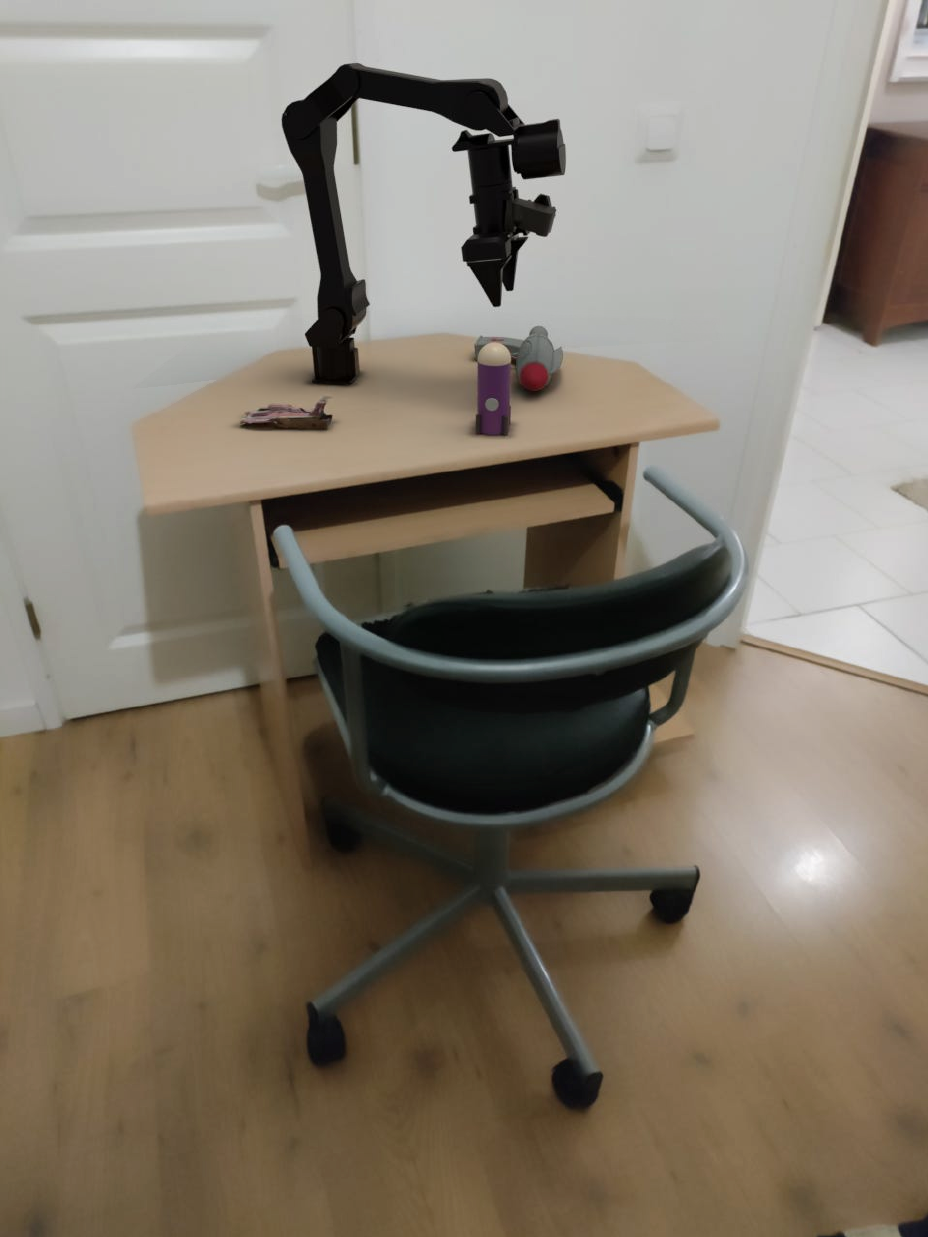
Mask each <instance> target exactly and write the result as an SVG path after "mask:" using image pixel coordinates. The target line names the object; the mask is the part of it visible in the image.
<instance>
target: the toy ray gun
mask: <svg viewBox="0 0 928 1237" xmlns="http://www.w3.org/2000/svg"><path fill="white" fill-rule="evenodd" d="M494 342H495V343H500V344H502V345H504V346H505V347H506V348H507V349H508V350H509V352H510V355H511V357H513V358H516V363H515V372H516V377H517V380H518V381H519V383H520V384H521V385H522V387H524V388H525V389H526V390H528V391H531V392H537V391H541V390H542V389H543V388H545V387H546V386H547V385H548V384H549V382H550V380H551V379H552V376H553V374H555V373H557V372H558V371H559V370H560V368H561V366H562V364H563V359H564V353H563V352H564V351H563V347H562V346H560V347H557V348H556V349H554V346H553V343H552V341H551V339H550V338H549V333H548V329H547V328H546V327H544V326H542V325H536V326H533V327H532V328H531V329H530V330H529V333H528V336H527V337H526V338H525V339H519V338H513V337H505V336H483V335H479V337H478V338H477V339H476V341H475V343H474V344H473V347H474V354H475V361H476V362H478V355H479V352H480V350H481V349H482V348H483V347H484V346H485V345H487V344H489V343H494Z"/></svg>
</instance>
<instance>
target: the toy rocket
mask: <svg viewBox="0 0 928 1237" xmlns="http://www.w3.org/2000/svg"><path fill="white" fill-rule="evenodd" d="M511 375H512V356H511V355H510V352H509V350H508V349H507V348H506V347H505V346H504V345H502V344H500V343H495V342H494V343H489V344H487V345H485V346H484V347H483V348H482V349H481V350H480V352H479V355H478V361H477V376H476V377H477V380H476V381H477V384H476V386H477V387H476V389H477V390H476V392H477V393H476V394H477V395H476V396H477V397H476V400H477V401H476V406H477V407H476V409H477V410H476V414H475V434H476V435H480V434H484V435H488V436H498V435H503V436H508V432H509V431H510V425H511V419H512V418H511V417H512V416H511V415H512V412H511V411H512V406H511V383H512V382H511V380H512V377H511Z"/></svg>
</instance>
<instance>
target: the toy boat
mask: <svg viewBox="0 0 928 1237" xmlns="http://www.w3.org/2000/svg"><path fill="white" fill-rule="evenodd" d="M332 398H333V397H332V396H330V395H323V396H321V397H320V399H318V401H317V402H316V403H315V406H314V408H308V409H307V408H302V407H301V406H293V405H290V404H287V403H280V402H279V403H278V402H273V403H272V402H268V403H267V406H260V407H259V409H257V410H249V411H246V412H244V415H245V416H246V417H243V418H240V419H239V421H240V423H239V424H240V425H241V424H245V423H247V424H253V423H254V424H259V425H266V423H274V424H276V425H277V427H278V428H284V429H285V428H286V429H287V428H293V429H313V430H315V429H318V430H319V429H320V430H321V429H328V427H329V425H330V423H331V422H332V420H333V414H331V413H330V414H327V413H325V406H326V405H327V403H329V401H330V400H331V399H332Z"/></svg>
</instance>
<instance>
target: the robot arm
mask: <svg viewBox="0 0 928 1237" xmlns="http://www.w3.org/2000/svg"><path fill="white" fill-rule="evenodd" d="M359 99H360V100H367V101H372V102H378V103H383V104H388V105H394V106H399V107H404V108H408V109H409V108H410V109H415V110H420V111H425V112H430V113H431V112H432V113H434V114H437V115H438V116H441V117H443V118H445V119H447V120H449V122H453V123H454V124H457V125H460V126H461V127H465V128H467V129H464V130H462V131H461V132H460V134H459V137H458V139H457V140H456V141H455V143H454V144H453V145H452V147H451V151H452V152H454V153H457V152H466V151H467V160H468V168H469V177H470V186H471V194H469V196H468V201H469V205H473V211H474V212H473V214H474V220H475V225H474V226H473V227H472V235H471V236H469V237H468V238H467V239H466V240H465V242H464V243H463V244H462V246H461V247H460V248H461V249H460V250H461V254H462V255H461V257H462V262H464V263H466V266H467V268H468V267H469V269H470V270H471V272H472V274H473V275H474V277H475V278H476V280H477V282H478V284H479V285H480V287H481V288H482V290H483V292H484V294H485V295H486V297H487V298H488V300H489V302H490V304H491V305H492V307H493V308H500V307H501V306H502V299H503V297H502V296H503V288H504V289H505V291H506V292H512V291H514V289H515V282H516V273H517V266H518V259H519V251H520V250H521V248H522V247H523V246H524V244H526V242H527V241H528V239H529V236H528V235H529V234H530V233H532V234H533V233H534V234H535V235H536V236H538V237H542V238H543V237H544V238H547V237H548V235H550V233H552V232H551V231H552V229H553V224H554V220H555V218H556V216H557V215H556V213H557V209H556V206H554V205H553V206H552V201H551V196H550V195H547V194H544V193H539V194H538V195H537V197H535V199H534V200H533V201H532V199H523V198H520V196H519V189H518V188H517V186H513V176H512V169H513V172H514V173H516V174H517V175H520V176H521V179H522V180H524V181H525V180H534V179H541V178H543V179H544V178H551V177H559V176H565V174H566V168H567V150H566V143H565V142H564V136H563V132H562V129H561V120H560V118H553V119H548V120H546V121H543V122H536V123H528V124H525V123H524V121H523V120H522V118H520V116H519V115H518V114H517V113H516V111H514V109H513V107H512V106H511V105H510V104H509V98H508V94H507V91H506V89H505V88H504V86H503V85H502V83H501V82H500V81H498V80H496V79H494V78H485V77H484V78H461V79H437V78H432V77H426V76H421V75H415V74H409V73H404V72H399V71H393V70H387V69H383V68H382V69H381V68H378V67H377V68H376V67H371V66H366V65H364V64H362V63H359V62H351V63H344V64H342V65H340V66H339V67H338V68H337V69H336V70H335V72H334V73H333V74H331V75H330V76H329V78H327V79H326V80H324V82H322V84H320V85H319V86H317V87H316V88H315V89H314V90H313V91H311V92H310V93H309V94H307V96H306V97H304V99H299V100H294V101H291V102H290V103H289V104H288V105H287V106H286V108H285V109H284V111H283V113H282V115H281V128H282V132H283V134H284V137H285V140H286V143H287V146H288V150H289V152H290V154H291V156H292V158H293V159H294V161H295V163H296V165H297V166H298V168H299V170H300V172H301V174H302V179H303V186H304V190H305V196H306V203H307V208H308V212H309V218H310V223H311V224H310V225H311V229H312V234H313V241H314V246H315V251H316V257H317V263H318V268H319V273H320V274H319V282H318V289H317V296H316V302H317V303H316V304H317V307H316V308H317V320H316V321H314V323H313V324H312V325H311V326H310V327H309V328H308V330H306V332H305V333H304V336H305V339H306V341H307V344H308V346H309V347H310V348H311V352H312V353H311V354H312V363H313V364H312V365H313V372H314V375H313V377H312V378H311V383H314V384H331V385H351V384H352V383H353V382H354V381H355V379H356V377H358V375H359V374H360V372H361V371H360V357H359V349H358V347H355V346H356V345H355V338H354V337H352V336H353V335H354V334H356V332H357V328H358V326H359V325H361V324H362V322H363V321H364V320H365V318H366V316H367V308H369V306H370V305H371V303H370V302H369V299H368V297H367V283H366V279H364V278H363V279H359V280H358V279H357V278H356V276H355V275H354V273H353V272H352V270H351V266H350V261H349V260H350V259H349V253H348V248H347V241H346V236H345V230H344V222H343V218H342V210H341V205H340V199H339V193H338V192H339V191H338V186H337V181H336V180H337V179H336V175H335V161H336V154H337V148H338V122H339V121H340V120H341V119H342V118H343V117H344V116H345V115H346V114H347V113H348V112H349V111H350V110H351V108H352V107H353V106H354V105H355V103H357V101H358V100H359ZM468 129H470V130H471V131H477V132H481V131H485V130H486V131H488V132H489V133H481V134H474V135H473V134H472V133H470V131H468ZM495 136H496V137H498V138H504V137H511V136H513V138H506V139H495ZM510 150H511V151H510ZM510 152H511V153H510ZM511 165H512V166H511ZM520 234H522V236H520Z"/></svg>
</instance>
